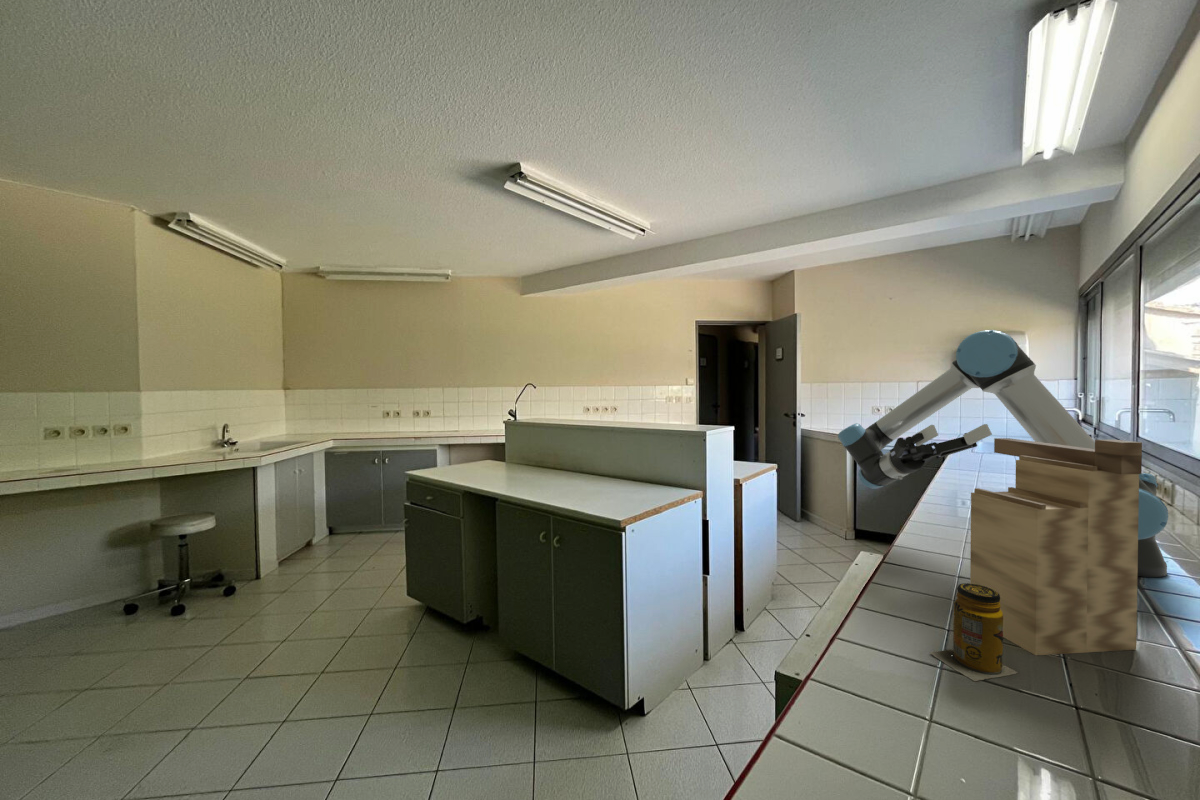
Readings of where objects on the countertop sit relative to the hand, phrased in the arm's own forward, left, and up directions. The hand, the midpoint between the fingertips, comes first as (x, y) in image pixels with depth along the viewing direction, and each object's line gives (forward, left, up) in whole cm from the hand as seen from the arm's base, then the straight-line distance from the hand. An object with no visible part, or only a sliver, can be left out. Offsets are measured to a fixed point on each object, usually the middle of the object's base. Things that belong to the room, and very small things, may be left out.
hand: (961, 429), depth 106 cm
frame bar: (+3, +24, -4) cm, 24 cm away
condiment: (+29, +34, -34) cm, 56 cm away
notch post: (+8, +27, -34) cm, 44 cm away
